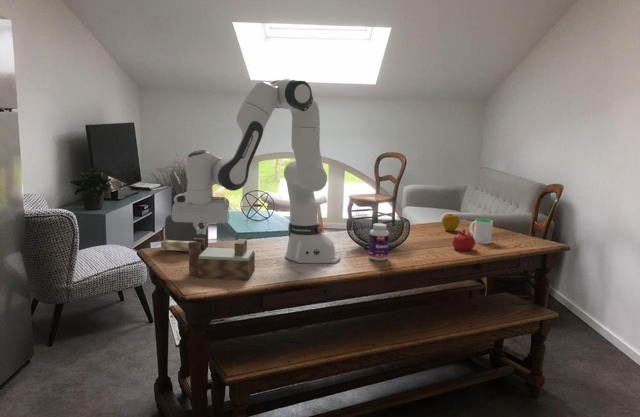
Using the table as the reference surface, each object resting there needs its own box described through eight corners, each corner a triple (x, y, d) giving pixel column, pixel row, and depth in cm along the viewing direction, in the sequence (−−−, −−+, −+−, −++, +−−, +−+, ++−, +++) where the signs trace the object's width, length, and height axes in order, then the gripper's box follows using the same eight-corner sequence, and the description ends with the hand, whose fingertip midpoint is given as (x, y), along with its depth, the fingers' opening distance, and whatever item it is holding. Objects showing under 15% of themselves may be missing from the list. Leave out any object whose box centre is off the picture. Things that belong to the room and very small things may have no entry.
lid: (253, 254, 199) (253, 237, 198) (247, 263, 188) (247, 245, 186) (207, 252, 200) (207, 235, 199) (198, 261, 189) (198, 243, 187)
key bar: (197, 249, 196) (197, 241, 195) (194, 251, 192) (194, 243, 192) (164, 247, 196) (164, 239, 196) (161, 250, 193) (161, 242, 192)
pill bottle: (375, 262, 216) (376, 227, 213) (364, 257, 223) (366, 223, 220) (391, 260, 220) (393, 225, 217) (380, 255, 227) (382, 221, 224)
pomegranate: (479, 251, 239) (481, 231, 237) (463, 253, 234) (465, 233, 232) (462, 245, 247) (464, 226, 246) (446, 247, 242) (448, 227, 240)
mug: (463, 239, 260) (465, 218, 258) (473, 237, 265) (475, 216, 263) (483, 244, 251) (485, 222, 249) (494, 242, 255) (496, 221, 253)
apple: (460, 229, 280) (461, 213, 278) (457, 233, 272) (458, 216, 271) (443, 228, 283) (444, 211, 282) (440, 231, 276) (441, 214, 274)
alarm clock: (208, 250, 225) (208, 214, 223) (185, 255, 217) (184, 217, 214) (185, 243, 236) (185, 208, 233) (163, 247, 228) (162, 211, 225)
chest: (254, 270, 200) (254, 239, 198) (248, 280, 188) (248, 247, 186) (196, 267, 201) (196, 236, 199) (186, 277, 190) (186, 244, 187)
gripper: (231, 195, 193) (231, 232, 195) (175, 194, 194) (176, 231, 197) (226, 198, 186) (227, 237, 189) (169, 197, 188) (171, 235, 190)
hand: (201, 234), depth 193 cm, fingers closed
